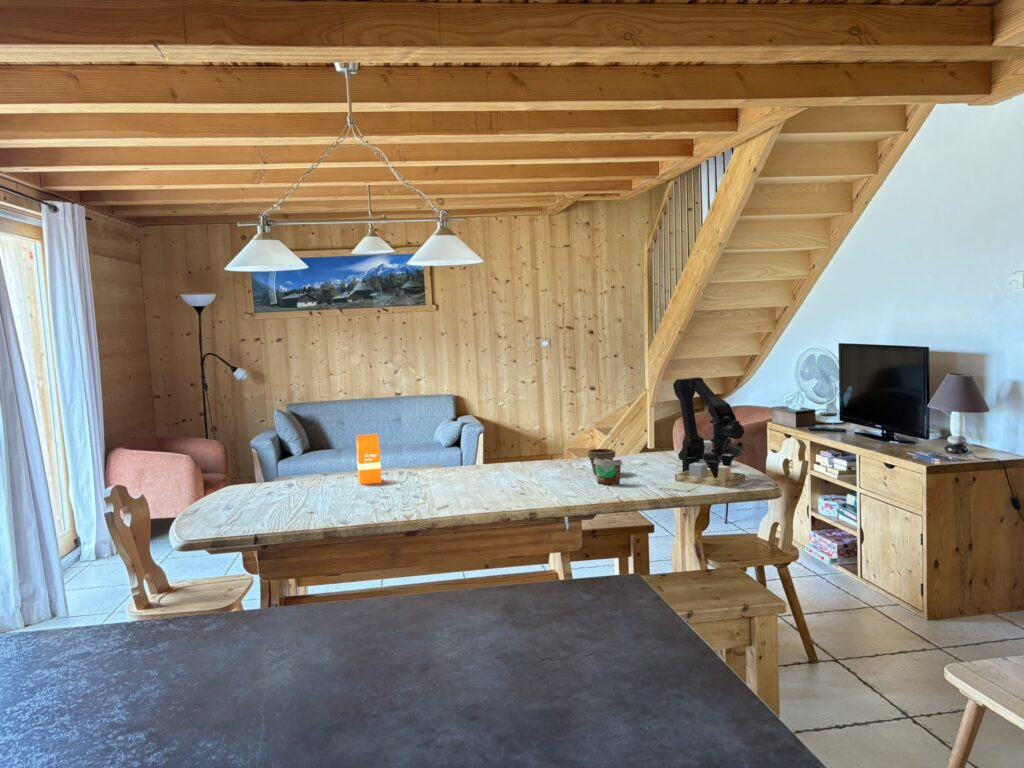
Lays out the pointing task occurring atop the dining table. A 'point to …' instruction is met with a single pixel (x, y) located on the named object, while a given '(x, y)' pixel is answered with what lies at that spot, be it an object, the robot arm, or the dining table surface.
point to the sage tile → (681, 486)
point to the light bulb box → (706, 449)
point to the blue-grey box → (698, 470)
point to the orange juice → (368, 459)
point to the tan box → (724, 473)
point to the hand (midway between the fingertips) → (721, 475)
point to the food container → (608, 471)
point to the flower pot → (600, 456)
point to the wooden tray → (710, 479)
